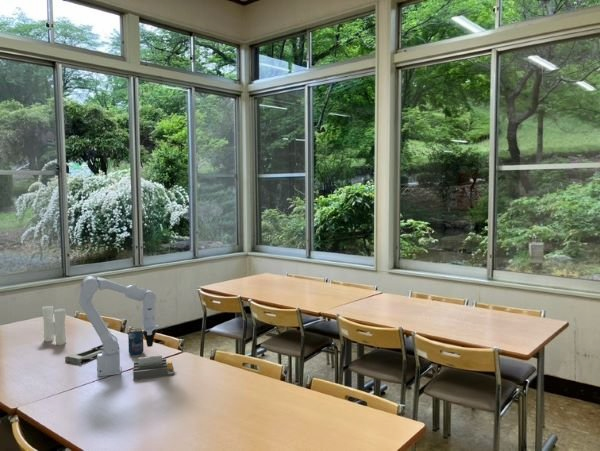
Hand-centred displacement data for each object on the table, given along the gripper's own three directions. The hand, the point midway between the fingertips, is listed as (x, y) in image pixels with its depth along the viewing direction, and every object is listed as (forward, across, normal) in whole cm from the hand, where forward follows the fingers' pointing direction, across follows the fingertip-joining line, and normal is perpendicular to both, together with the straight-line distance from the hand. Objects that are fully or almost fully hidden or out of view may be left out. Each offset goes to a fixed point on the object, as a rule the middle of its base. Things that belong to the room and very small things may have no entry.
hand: (149, 346), depth 216 cm
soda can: (+10, +20, +6) cm, 23 cm away
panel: (+8, -8, 0) cm, 12 cm away
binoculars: (+10, +55, +48) cm, 74 cm away
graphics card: (+10, +24, +26) cm, 37 cm away
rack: (+9, -8, -1) cm, 13 cm away
